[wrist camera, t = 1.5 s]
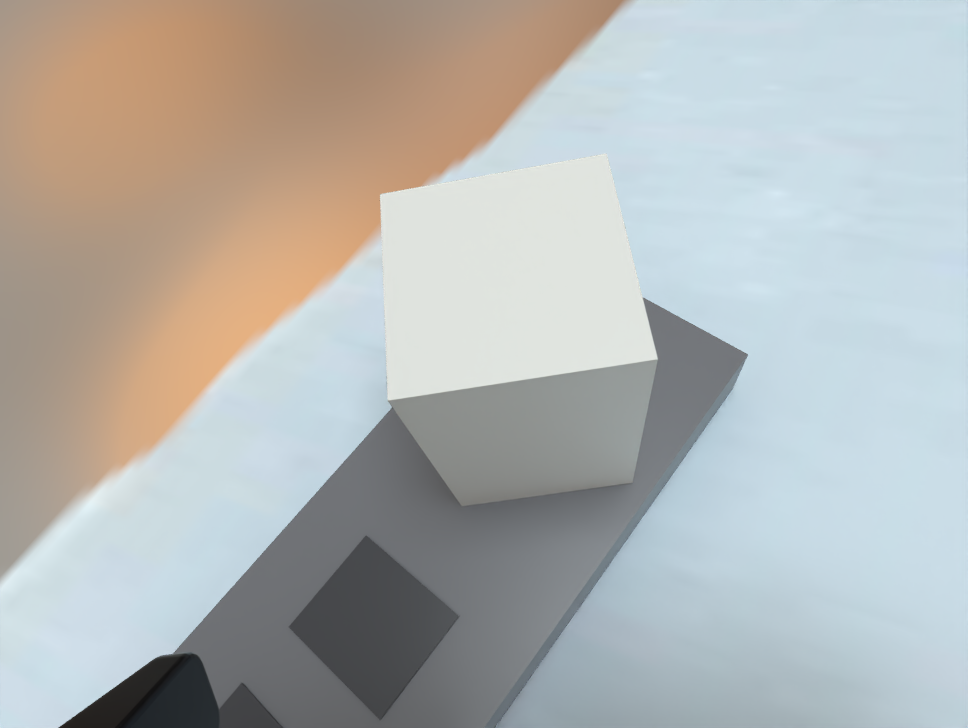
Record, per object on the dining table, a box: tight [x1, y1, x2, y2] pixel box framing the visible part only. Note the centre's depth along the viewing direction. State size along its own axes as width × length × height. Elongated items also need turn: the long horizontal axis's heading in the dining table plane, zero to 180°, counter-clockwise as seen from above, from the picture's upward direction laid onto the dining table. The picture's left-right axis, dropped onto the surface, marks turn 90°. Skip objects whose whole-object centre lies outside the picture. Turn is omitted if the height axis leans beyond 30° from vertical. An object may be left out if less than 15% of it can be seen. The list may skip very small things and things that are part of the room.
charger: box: [380, 154, 658, 506], centre depth 18 cm, size 5×5×10 cm
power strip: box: [173, 298, 748, 728], centre depth 19 cm, size 24×8×4 cm, turn 141°
